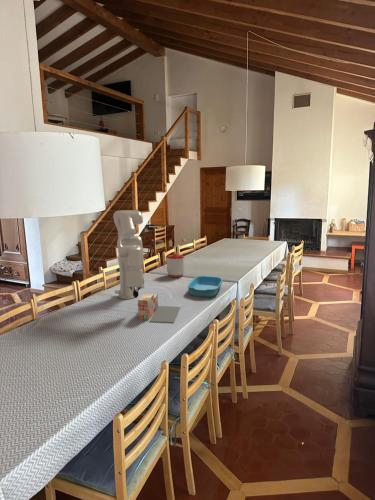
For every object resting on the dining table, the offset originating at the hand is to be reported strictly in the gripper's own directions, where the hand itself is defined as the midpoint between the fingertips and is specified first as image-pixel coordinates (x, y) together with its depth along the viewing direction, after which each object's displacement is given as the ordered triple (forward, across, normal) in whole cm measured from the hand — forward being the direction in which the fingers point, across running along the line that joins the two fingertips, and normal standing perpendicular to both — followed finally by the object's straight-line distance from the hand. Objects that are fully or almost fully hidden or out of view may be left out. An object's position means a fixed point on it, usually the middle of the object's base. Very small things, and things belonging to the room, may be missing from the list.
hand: (135, 297), depth 219 cm
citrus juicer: (+10, +8, +90) cm, 91 cm away
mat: (+10, +18, 0) cm, 21 cm away
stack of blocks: (+11, +8, +1) cm, 13 cm away
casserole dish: (+11, +38, +52) cm, 65 cm away
